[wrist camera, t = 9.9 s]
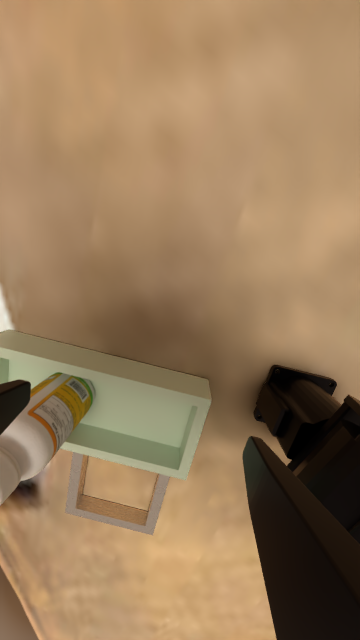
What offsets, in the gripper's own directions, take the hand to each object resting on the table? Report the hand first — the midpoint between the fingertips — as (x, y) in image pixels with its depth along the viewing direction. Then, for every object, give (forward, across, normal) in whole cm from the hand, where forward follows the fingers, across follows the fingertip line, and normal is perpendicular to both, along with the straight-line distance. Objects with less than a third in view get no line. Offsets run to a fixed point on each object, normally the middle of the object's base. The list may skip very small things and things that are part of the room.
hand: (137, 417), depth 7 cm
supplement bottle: (+11, +9, +9) cm, 17 cm away
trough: (+12, +6, +9) cm, 16 cm away
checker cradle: (+12, +2, +20) cm, 24 cm away
